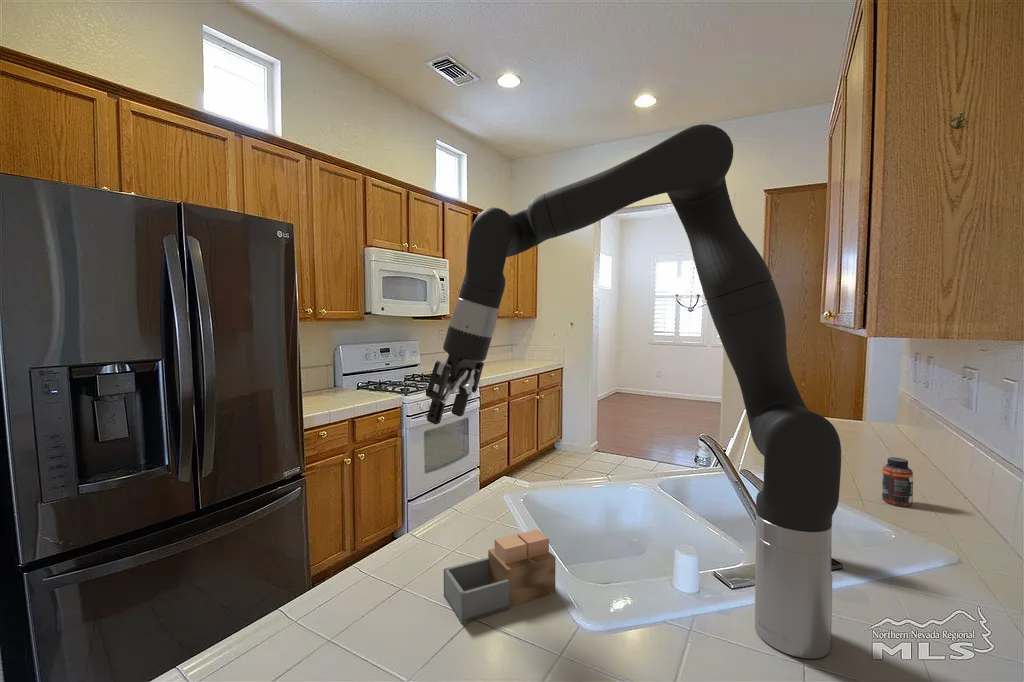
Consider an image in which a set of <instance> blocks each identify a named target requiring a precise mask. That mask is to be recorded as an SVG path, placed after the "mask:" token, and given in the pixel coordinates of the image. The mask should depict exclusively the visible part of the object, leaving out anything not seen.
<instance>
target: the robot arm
mask: <svg viewBox="0 0 1024 682" xmlns="http://www.w3.org/2000/svg"><path fill="white" fill-rule="evenodd" d="M733 158H734V143H733V142H732V140H731V137H730V135H728V133H727V132H726V131H725V130H724V129H722V128H720V127H718V126H715V125H713V124H703V123H702V124H697V125H693V126H690V127H687V128H685V129H683V130H681V131H679V132H678V133H676V134H674V135H672V136H670V137H668V138H667V139H665V140H663V141H661V142H660V143H658V144H655V145H654V146H653V147H650V148H649V149H647V150H645V151H643V152H641V153H639V154H637V155H635V156H632V157H631V158H629V159H627V160H625V161H623V162H621V163H619V164H617V165H614V166H612V167H610V168H608V169H605V170H602V171H601V172H598V173H596V174H594V175H593V174H592V176H589V177H586V178H584V179H581V180H578V181H576V182H572V183H570V184H567V185H564V186H562V187H558V188H555V189H554V190H550V191H548V192H546V193H543V194H540V195H538V196H536V197H534V198H533V199H531V200H530V202H529V204H528V206H527V207H525V208H523V209H521V210H519V211H517V212H514V213H511V214H509V213H508V212H507V211H506V210H504V209H502V208H499V207H489V208H486V209H484V210H482V211H481V212H480V213H479V214H478V215H477V216H476V217H475V219H474V221H473V223H472V225H471V228H470V230H469V231H470V232H469V236H468V242H467V252H466V261H465V262H466V267H465V274H464V277H463V280H462V283H461V287H460V290H459V295H458V298H457V300H456V303H455V305H454V308H453V310H452V314H451V316H450V320H449V324H448V328H447V331H446V335H445V338H444V342H443V346H442V349H443V350H444V352H446V353H447V354H448V357H447V359H446V360H445V362H443V361H440V360H436V361H435V363H434V365H433V369H432V372H431V375H430V379H429V381H428V385H427V388H426V391H425V396H426V397H427V398H430V399H431V402H430V405H429V410H428V413H427V417H426V421H427V422H429V423H431V424H433V425H440V423H441V422H442V418H443V414H444V410H445V407H446V402H447V401H448V399H449V398H450V396H451V395H452V394H455V393H456V392H457V393H456V394H455V396H454V397H455V398H454V402H453V405H452V407H451V413H452V414H453V415H455V416H457V417H462V416H464V415H465V411H466V408H467V404H468V400H469V398H470V397H471V396H472V395H473V394H475V393H476V392H477V391H478V386H479V384H480V380H481V376H482V372H483V368H484V361H485V360H486V359H487V356H488V352H489V349H490V345H491V343H492V339H493V334H494V332H495V330H496V329H495V328H496V325H497V320H498V313H499V308H500V305H501V302H502V299H503V296H504V295H503V294H504V291H505V288H506V283H507V282H506V277H505V275H504V269H505V264H506V259H507V258H509V257H513V256H517V255H520V254H522V253H524V252H525V251H528V250H530V249H532V248H534V247H536V246H538V245H540V244H542V243H543V242H545V241H548V240H549V239H554V238H557V237H560V236H563V235H566V234H570V233H573V232H575V231H578V230H581V229H584V228H586V227H589V226H591V225H593V224H595V223H597V222H599V221H601V220H603V219H606V217H609V216H610V215H613V214H614V213H616V212H618V211H620V210H622V209H624V208H626V207H628V206H630V205H633V204H635V203H637V202H640V201H642V200H644V199H649V198H651V197H654V196H658V195H662V194H667V196H668V198H669V199H670V202H671V204H672V207H674V210H675V212H676V213H677V217H678V218H679V221H680V222H681V224H682V226H683V228H684V231H685V233H686V236H687V239H688V241H689V244H690V248H691V249H690V250H691V252H692V257H693V262H694V266H695V269H696V272H697V276H698V279H699V282H700V285H701V289H702V292H703V296H704V300H705V302H706V305H707V309H708V311H709V313H710V316H711V318H712V322H713V325H714V327H715V329H716V332H717V335H718V336H719V337H718V338H719V339H720V342H721V344H722V346H723V349H724V352H725V354H726V357H727V358H728V360H729V363H730V364H731V367H732V369H733V371H734V373H735V376H736V378H737V379H736V380H737V381H738V384H739V389H740V392H741V395H742V400H743V404H744V407H745V412H746V415H747V416H746V417H747V420H748V426H749V429H750V435H751V438H752V441H753V444H754V445H755V447H756V449H757V451H758V452H759V453H760V454H761V455H762V456H763V461H764V462H763V486H762V489H761V490H760V491H758V493H757V494H756V498H755V499H756V500H755V567H754V568H755V569H754V571H755V572H754V573H755V575H754V580H755V581H754V582H755V586H754V630H755V631H756V633H757V635H758V636H759V637H760V638H761V639H762V641H764V643H767V644H768V645H770V646H771V647H772V648H774V649H775V650H778V651H780V652H782V653H784V654H787V655H790V656H793V657H797V658H801V659H820V658H824V657H825V656H827V655H828V654H829V653H830V648H831V640H832V624H833V622H832V621H833V620H832V619H833V614H832V613H833V575H832V552H833V551H832V541H833V540H832V536H833V527H832V526H833V515H834V513H835V512H836V510H837V507H838V505H839V500H840V487H841V486H840V485H841V473H842V444H841V440H840V439H841V438H840V436H839V433H838V431H837V430H836V428H835V426H834V424H832V422H831V421H829V419H827V418H826V417H825V416H822V415H821V414H819V413H817V412H815V411H812V410H810V409H808V407H807V405H806V403H805V401H804V399H803V398H802V395H801V394H800V391H799V389H798V386H797V384H796V382H795V380H794V378H793V377H794V376H793V375H792V374H793V373H792V372H791V369H790V365H789V360H788V349H787V348H788V347H787V329H786V328H787V327H786V320H785V318H786V317H785V313H784V309H783V305H782V301H781V299H780V296H779V293H778V291H777V287H776V284H775V281H774V279H773V277H772V274H771V272H770V269H769V268H768V266H767V264H766V262H765V260H764V258H763V257H762V255H761V254H760V252H759V251H758V249H757V248H756V247H755V245H754V244H753V242H752V241H751V240H750V238H749V237H748V236H747V234H746V232H745V231H744V230H743V228H742V226H741V224H739V221H738V219H737V216H736V214H735V211H734V208H733V205H732V201H731V198H730V194H729V191H728V187H727V181H726V176H727V174H728V172H729V170H730V168H731V165H732V163H733V160H734V159H733ZM435 385H436V386H435Z"/></svg>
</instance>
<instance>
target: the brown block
mask: <svg viewBox="0 0 1024 682" xmlns="http://www.w3.org/2000/svg"><path fill="white" fill-rule="evenodd" d="M487 551H488V552H487V553H488V555H487V558H488V559H489V582H490V583H491V584H492V583H496V582H499V581H503V580H506V579H508V580H509V608H510V607H513V606H517V605H520V604H523V603H526V602H530V601H532V600H535V599H538V598H543V597H544V596H548V595H551V593H552V594H554V592H555V593H556V555H553V553H552V552H550V551H549V553H546V554H543V555H539V556H535V557H531V558H528V557H527V559H524V560H520V561H516V562H513V563H509V564H504V563H503V562H502V561H501V560H500V559H499V558H498V557H497V556H496V555H495V547H494V548H490V549H488V550H487Z"/></svg>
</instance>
